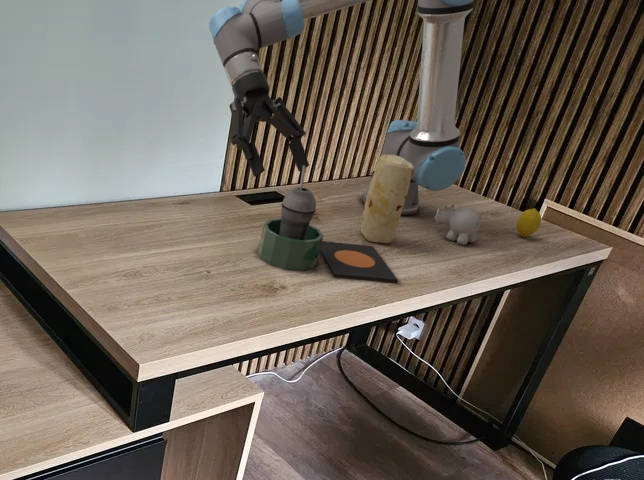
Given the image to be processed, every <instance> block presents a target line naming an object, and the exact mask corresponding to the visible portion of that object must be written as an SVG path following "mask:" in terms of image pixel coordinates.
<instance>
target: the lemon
mask: <svg viewBox="0 0 644 480" xmlns="http://www.w3.org/2000/svg"><path fill="white" fill-rule="evenodd" d="M541 223H542V215H541V214H540V212H539V211H538V210H537V209H536V208H535V207H534V208H529V209H526V210H524V211H523V212H522V213H521V214H520V215H519V216H518V218H517V221H516V225H515V226H516V231H517V232H518V233H519V234H520V237H522V238H525V237H528V236H532V235H534V234H535V233H536V232H537V231H538V230H539V228H540V226H541Z"/></svg>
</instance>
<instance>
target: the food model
mask: <svg viewBox="0 0 644 480" xmlns="http://www.w3.org/2000/svg"><path fill="white" fill-rule="evenodd" d="M374 171H375V172H374V175H372V178H371V181H370V182H371V185H370V188H369V191H368V195H367V198H366V202H365V204H364V207H363V211H362V216H361V224H360V232H361V234H362V235H363V236H364V239H365V240H367V241H369V242H372V243H382V244H389V243H391V242H392V241H393V239H394V235H395V232H396V230H397V227H398V225H399V222H400V219H401V216H402V215H401V212H402V209H403V206H404V203H405V200H406V196H407V193H408V189H409V185H410V181H411V177H412V174H413V171H414V167H413V165H412V164H411V163H410V162H408V161H406V160H405V159H403V158H401V157H399V156H396V155H382V156H381V155H380V157H379V158H378V161H377V164H376V168H375V170H374Z"/></svg>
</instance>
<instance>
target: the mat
mask: <svg viewBox="0 0 644 480" xmlns="http://www.w3.org/2000/svg"><path fill="white" fill-rule="evenodd" d="M319 255H320V256H321V258H322V259H323V261H324V263H325V265H326V266H327V268H328V269H329V272H331V275H332V277H333V278H340V279H352V280H361V281H373V282H381V283H390V284H391V283H393V284H397V283H398V281H399V279H398V278H397V277H396V275H395V274H394V272H393V271H392V270H391V269H390V267H389V266H388V264H387V263H386V262H385V260H384V259H383V258H382V256H381V255H380V254H379V253H378V251H377V250H376V248H375V247H374V246H373V245H367V244H366V245H365V244H355V243H346V242H336V241H327V240H322V244H321V248H320V252H319Z"/></svg>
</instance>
